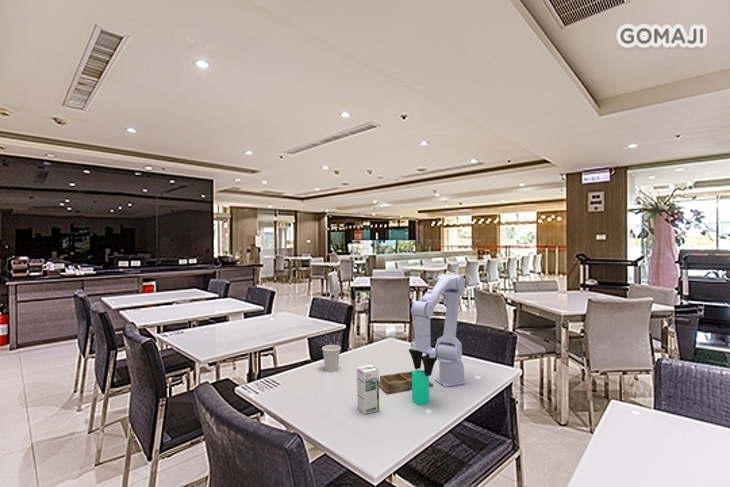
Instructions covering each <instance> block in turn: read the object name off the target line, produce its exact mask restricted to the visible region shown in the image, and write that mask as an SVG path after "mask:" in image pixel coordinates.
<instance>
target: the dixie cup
mask: <svg viewBox="0 0 730 487" xmlns="http://www.w3.org/2000/svg"><path fill="white" fill-rule="evenodd" d="M321 349H322V353H323V362H324V370H325V371H326V372H330V373H333V372H337V371H338V370H339V361H340V354H341V346H340V345H338V344H327V345H324V346H322V348H321Z"/></svg>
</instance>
